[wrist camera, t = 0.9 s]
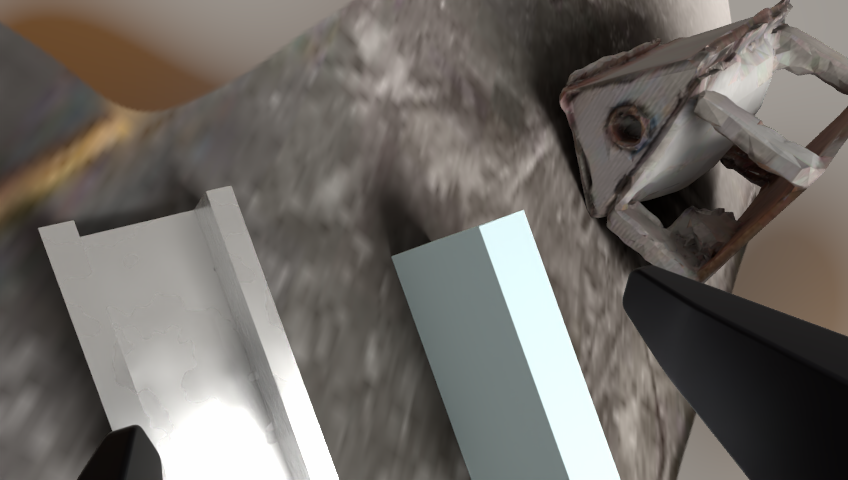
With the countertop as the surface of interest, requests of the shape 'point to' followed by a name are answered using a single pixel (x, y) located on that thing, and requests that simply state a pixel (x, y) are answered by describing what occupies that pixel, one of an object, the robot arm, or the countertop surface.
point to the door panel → (503, 356)
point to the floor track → (190, 344)
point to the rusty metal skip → (697, 134)
